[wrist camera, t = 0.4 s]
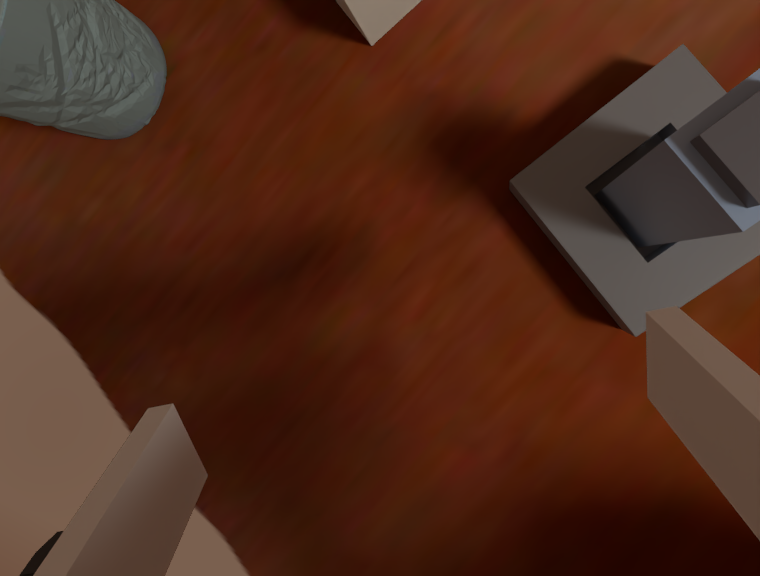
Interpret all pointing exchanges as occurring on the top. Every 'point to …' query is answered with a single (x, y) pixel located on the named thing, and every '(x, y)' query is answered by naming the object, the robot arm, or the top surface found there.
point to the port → (376, 15)
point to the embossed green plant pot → (79, 66)
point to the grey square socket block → (597, 225)
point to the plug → (696, 176)
